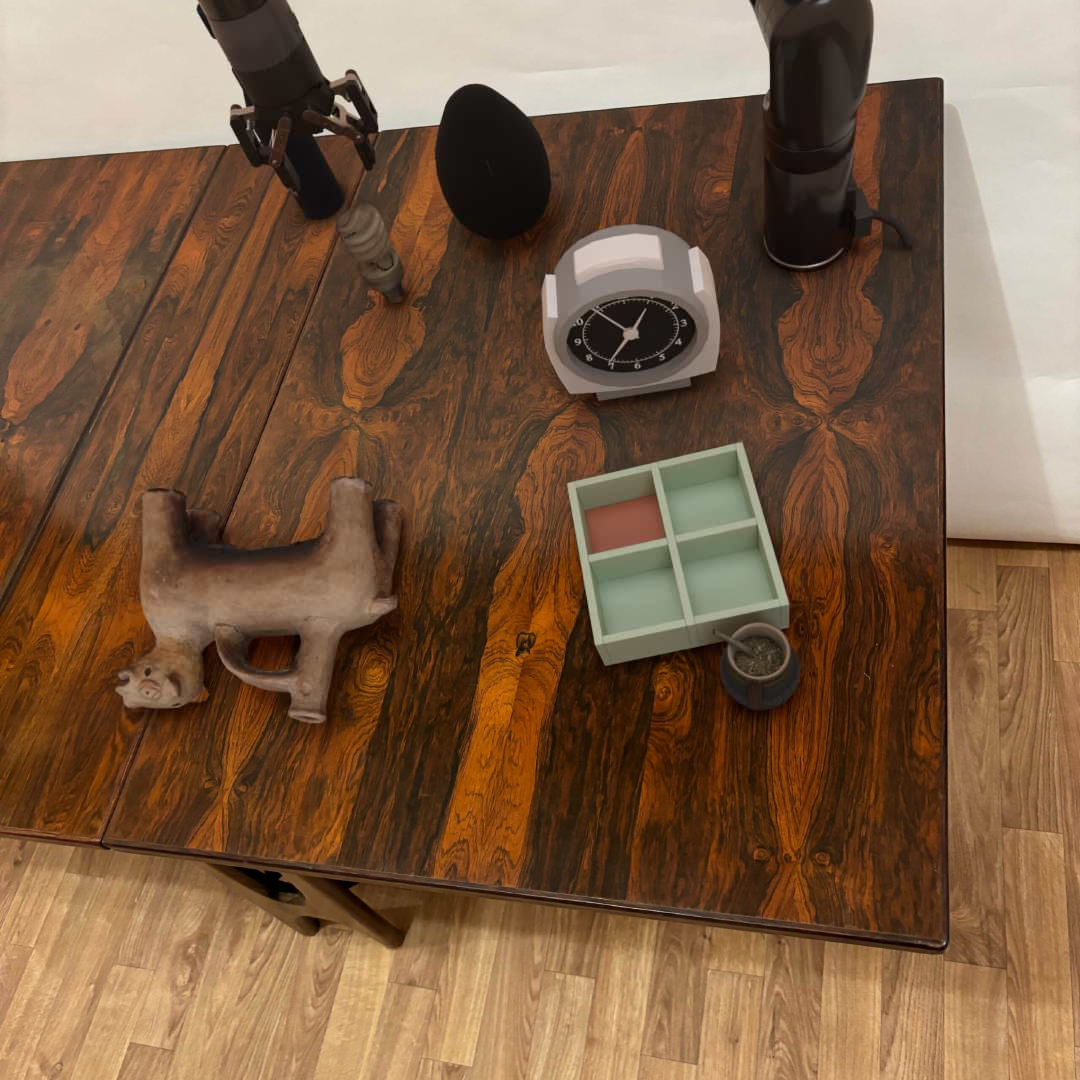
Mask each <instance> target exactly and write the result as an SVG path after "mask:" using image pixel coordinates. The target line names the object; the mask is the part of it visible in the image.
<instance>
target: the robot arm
mask: <svg viewBox="0 0 1080 1080" xmlns="http://www.w3.org/2000/svg"><path fill="white" fill-rule="evenodd" d="M196 1H197V2H198V3H199V4H200V6H201V8H202V10H203V11H204V13H205V15H206V17H207V19H208V21H209V23H210V26H211V28H212V31H213V33H214V35H215V38H216V39H215V40H216V42H217V43H218V45H219V47H220V49H221V50H222V53H223V54H224V56H225V57H226V60H227V59H228V60H227V61H228V63H229V65H230V64H231V65H230V67H231V66H232V67H231V69H232V68H233V70H234V71H235V73H236V75H237V77H238V78H239V80H240V82H241V84H242V85H243V87H244V89H245V91H246V92H247V94H248V96H249V98H250V100H251V101H252V102H253V105H254V106H250V107H246V106H245V107H242V106H241V105H240V104H238V103H233V104H231V106H230V108H229V109H230V110H229V111H230V112H229V126H230V128H231V131H232V132H233V134H234V136H235V137H236V139H237V141H238V143H239V145H240V147H241V149H242V150H243V152H244V155H245V156H246V158H247V160H248V162H249V164H250V166H252V167H253V168H257V169H258V168H260V167H262V165H263V166H265V165H267V166H269V167H271V168H272V169H273V170H274V172H275V174H276V176H277V177H278V178H279V181H280V182H281V184H282V185H283V187H285V188H286V189H288V190H289V188H291V189H292V191H293V192H297V191H300V179H299V177H298V175H297V173H296V171H295V169H294V168H293V166H292V164H291V162H290V161H289V159H288V157H287V155H286V153H285V148H286V143H287V139H288V137H289V138H294V139H295V140H299V139H302V138H304V137H306V136H307V135H312V134H313V135H319V134H322V133H324V130H326V131H328V132H330V133H332V134H334V135H336V136H338V137H341V136H343V137H345V138H347V139H349V140H351V141H352V142H353V147H354V148H355V151H356V153H357V155H358V157H359V159H360V161H361V163H362V165H363V167H364V169H365V171H366V172H371V171H373V170H374V165H375V164H376V159H377V158H376V150H375V148H374V146H373V144H372V141H371V139H370V137H369V136H370V134H371V135H375V134H377V133H378V132H379V128H380V127H379V121H378V118H379V117H378V116H379V114H378V111H377V109H376V107H375V105H374V103H373V101H372V100H371V98H370V95H369V93H368V92H367V90H366V88H365V86H364V84H363V82H362V80H361V78H360V76H359V74H358V73H357V70H355V69H352V68H349V69H347V70H345V73H344V76H343V77H341V78H338V79H335V80H333V81H331V80H329V79H328V78H327V77H326V76H324V74H323V72H322V70H321V68H320V66H319V64H318V62H317V59H316V58H315V56H314V54H313V50H311V47H310V45H309V43H308V41H307V38H306V37H305V34H304V33H303V31H302V29H301V26H300V22H299V20H298V18H297V16H296V14H295V12H294V11H293V9H292V7H291V6H290V4H289V1H288V0H196ZM748 2H749V4H750V6H751V8H752V10H753V13H754V16H755V18H756V21H757V24H758V27H759V30H760V32H761V35H762V38H763V40H764V44H765V46H766V48H767V51H768V63H769V89H768V90H767V92H766V93H765V96H764V99H763V102H762V143H763V145H762V146H763V147H762V148H763V149H762V151H763V192H764V193H763V197H764V198H763V199H764V200H763V203H764V206H763V207H764V209H763V210H764V235H763V245H764V251H765V254H766V255H767V257H768V258H769V260H770V261H771V262H772V263H774V264H775V265H776V266H778V267H780V268H782V269H784V270H788V271H792V272H799V273H800V272H801V273H802V272H803V273H804V272H813V271H818V270H821V269H823V268H826V267H827V266H829V265H832V264H833V263H834V262H836V261H837V260H838V259H839V258H840V257H841V256H842V255H843V253H845V252H849V251H852V250H853V245H854V244H853V243H854V240H859V239H863V238H865V237H870V236H871V235H872V228H873V220H876V221H878V222H881V223H884V224H887V225H889V226H890V227H891V228H893V229H894V230H895V232H897V234H898V236H899V238H900V239H901V241H902V243H903V245H904V246H905V247H909V246H911V245H912V244H913V243H914V239H913V238H912V236H911V234H910V231H909V229H908V228H907V227H906V226H905V224H904V223H903V222H902V221H901V220H900V219H898V218H897V217H895V216H894V215H892V214H889V213H886V212H883V211H880V210H877V209H874V208H872V207H871V206H870V205H869V202H868V200H867V198H866V195H865V193H864V190H863V188H862V187H859V185H858V182H857V180H856V178H855V175H854V173H853V172H854V171H853V170H854V158H855V149H856V148H855V146H856V134H857V123H858V114H859V113H858V112H859V109H860V107H861V105H862V104H863V102H864V100H865V96H866V92H867V88H868V82H869V81H868V80H869V73H870V67H871V61H872V60H871V59H872V58H871V57H872V53H873V51H872V50H873V43H874V33H875V32H874V30H875V16H874V15H875V14H874V9H873V8H874V7H873V3H872V0H748ZM198 3H197V4H198ZM336 96H339V97H342V98H343V99H344V100H345V102H347V103H352V105H353V107H354V109H355V111H356V112H357V113H358V116H359V117H358V116H356V115H354V114H352V113H351V112H348V110H347V109H346V108H345V106H343V105H342V104H340V103H338V102H337V101H335V99H336ZM256 119H257V120H258V121H259V122H261V123H262V124H264V125H266V126H268V127H270V128H272V129H273V130H272V136H271V141H270V145H269V146H263V145H262V143H261V141H260V139H259V138H258V136H257V134H256V133H255V131H254V121H255V120H256Z"/></svg>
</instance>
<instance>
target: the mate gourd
mask: <svg viewBox="0 0 1080 1080" xmlns="http://www.w3.org/2000/svg"><path fill="white" fill-rule="evenodd" d="M712 635H714V636H717V637H718V638H720V639H722V640H724V641H723V642H726V647H725V648H724V649H723V651H722V652H721V657H720V660H719V669H718V670H719V677H720V681H721V683H722V686H723V687H724V689H725V691H726V692H727V694H728V695H729V696H730V697H731V698H732V699H733V700H735V702H737V703H738V704H740V705H742V706H743V707H745V708H748V709H750V710H753V711H766V710H769V709H774V708H777V707H780V706H781V705H784V704H785V703H786V702H787V701H788V700H789V699H790V698H791V697H792V696H793V695H794V693H795V691H796V690H797V689H798V686H799V683H800V679H801V665H800V659H799V656H798V654H797V653H796V651H795V649H794V648H793V646H792V644H791V641H790V640H789V637H788V636H787V634H786V633H785V632H784V631H783V629H779V628H778V627H776V626H774V625H772V624H769V623H766V622H752V623H748V624H745V625H743V626H741V627H739V628H738V629H737V630H735V631H734V632H733V634H732V635H731V636H730V637H729V636H727V635H726V634H724V633H723V632H722V633H720V632H719V631H718V630H716V629H714V628H713V630H712Z"/></svg>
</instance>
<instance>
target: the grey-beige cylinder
mask: <svg viewBox="0 0 1080 1080" xmlns="http://www.w3.org/2000/svg"><path fill="white" fill-rule="evenodd" d="M334 225H335V226H334V227H335V229H336V231H337V233H339V239H340V241H341V242H342V244H344V247H345V249H346V250H347V252H349V254H350V256H351V258H352V259H353V261H357V262H358V264H357V265H358V266H357V269H358V272H359V274H360V276H361V278H362V279H363V281H364V283H365V284H366V286H367V287H368V288H369V289H370V290H371V291H374V292H376V293H380V294H381V295H382V296H383V298H384V300H385V301H386V302H388V303H394V304H395V303H396V304H397V303H400V302H402V301H403V300H404V299H405V296H406V292H405V291H406V290H405V289H404V288H403V284H402V281H403V280H404V279H403V278H404V275H405V271H404V266H403V263H402V260H401V257H400V256H399V253H398V252H397V250H396V249H395V248H394V247H392V245H393V241H392V238H391V236H390V234H389V233H388V230H387V227H386V225H385V221H384V219H383V217H382V216H381V214H380V212H379V210H378V209H377V207H375V206H374V205H372V204H361V205H359V206H355V207H352V208H349V209H347V210H345V211H343V212H342V213H341V214H340V215H338V217H337V218H336V221H335V224H334Z"/></svg>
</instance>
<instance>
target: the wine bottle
mask: <svg viewBox="0 0 1080 1080" xmlns="http://www.w3.org/2000/svg"><path fill="white" fill-rule="evenodd" d="M196 12H197V15H198V16H199V18H200V20H201V21H202V23H203V25H204V27H205V28H206V30H207V32H208V33H209V35H210V37H211V38H212V39H213V40H216V38H215V35H214V33H213V31H212V28H211V26H210V23H209V21H208V19H207V17H206V15H205V13H204V11H203V10H202V8H201V6H200V4H199V3H197V5H196ZM226 61H228V59H227V58H226ZM229 65H230V67H231V72H232V74H233V76H234V77H235V80H236V81H237V83H238V85H239V86H240V88H241V89H242V94H243V100H244V104H245V108H246V107H250V106H254V105H253V102H252V101H251V100H250V98H249V96H248V94H247V92H246V91H245V89H244V87H243V85H242V84H241V82H240V80H239V78H238V77H237V75H236V73H235V71H234V70H233V68H232V66H231V64H230V63H229ZM253 130H254V132H255V134H256V136H257V138H258V140H259V142H260V144H261V146H269V145H270V141H271V136H272V130H273V129H272V128H270V127H268V126H266V125H264V124H262V123H261V122H259V121H258V120H257V119H256V120H255V121H254V129H253ZM285 153H286V155H287V157H288V159H289V161H290V162H291V164H292V166H293V168H294V169H295V171H296V173H297V175H298V177H299V179H300V191H297V192H293V191H292V189H291V188H289V189H288V190H289V192H290V194H291V196H292V197H293V199H294V200H295V202H296V203H297V205H298V207H299V209H300V210H301V212H302V214H303V215H304V217H306V218H307V219H310V220H317V221H318V220H319V221H320V220H325V219H328V218H330V217H331V216H334V215H335V214H336V213H337V212H338V211H339V210H340V209H341V208H342V207H343V204H344V202H345V194H344V191H343V189H342V187H341V186H340V183H339V182H338V179H337V177H336V176H335V173H334V172H333V170H332V168H331V166H330V165H329V163H328V161H327V159H326V156H325V154H324V153H323V151H322V149H321V148H320V146H319V144H318V142H317V140H316V138H315V136H314V134H312V135H307V136H306V137H304V138H302V139H299V140H295V139H294V138H289V137H288V139H287V143H286V148H285Z"/></svg>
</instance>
